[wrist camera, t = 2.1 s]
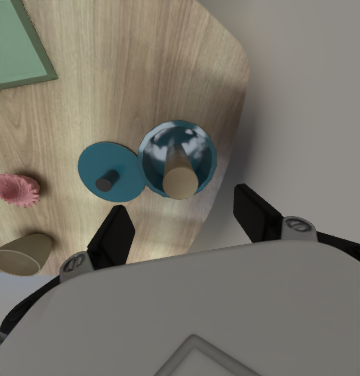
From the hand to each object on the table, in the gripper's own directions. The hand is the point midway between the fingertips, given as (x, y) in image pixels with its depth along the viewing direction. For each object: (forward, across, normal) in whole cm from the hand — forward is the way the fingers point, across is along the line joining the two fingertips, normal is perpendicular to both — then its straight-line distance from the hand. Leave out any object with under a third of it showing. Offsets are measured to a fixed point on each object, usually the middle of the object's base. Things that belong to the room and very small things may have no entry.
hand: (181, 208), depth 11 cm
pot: (+18, 0, 0) cm, 19 cm away
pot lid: (+18, +14, +2) cm, 23 cm away
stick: (+18, 0, 0) cm, 18 cm away
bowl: (+19, +41, +17) cm, 48 cm away
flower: (+19, +32, +1) cm, 37 cm away
